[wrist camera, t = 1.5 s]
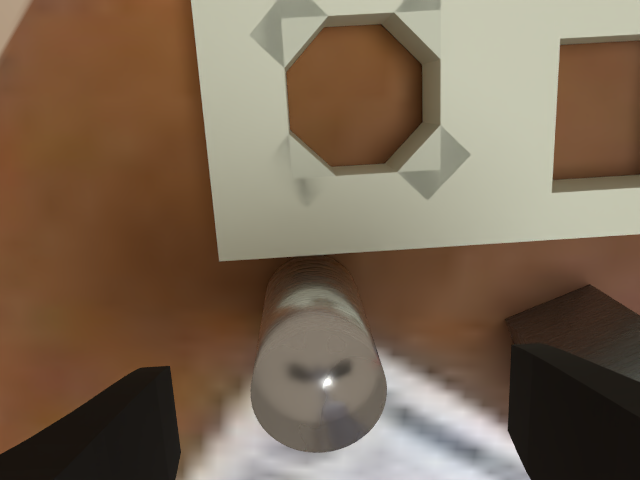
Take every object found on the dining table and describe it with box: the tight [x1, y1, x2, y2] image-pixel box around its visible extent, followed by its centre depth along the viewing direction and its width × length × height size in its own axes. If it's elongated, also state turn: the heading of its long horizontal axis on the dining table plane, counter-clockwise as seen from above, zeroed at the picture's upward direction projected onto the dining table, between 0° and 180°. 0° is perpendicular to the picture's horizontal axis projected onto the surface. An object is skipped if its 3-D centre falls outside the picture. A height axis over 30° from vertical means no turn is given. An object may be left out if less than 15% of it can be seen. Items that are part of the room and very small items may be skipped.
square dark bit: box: [505, 285, 640, 382], centre depth 18 cm, size 4×4×7 cm
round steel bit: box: [251, 255, 387, 453], centre depth 17 cm, size 4×4×7 cm
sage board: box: [191, 0, 640, 261], centre depth 18 cm, size 9×18×2 cm, turn 93°
